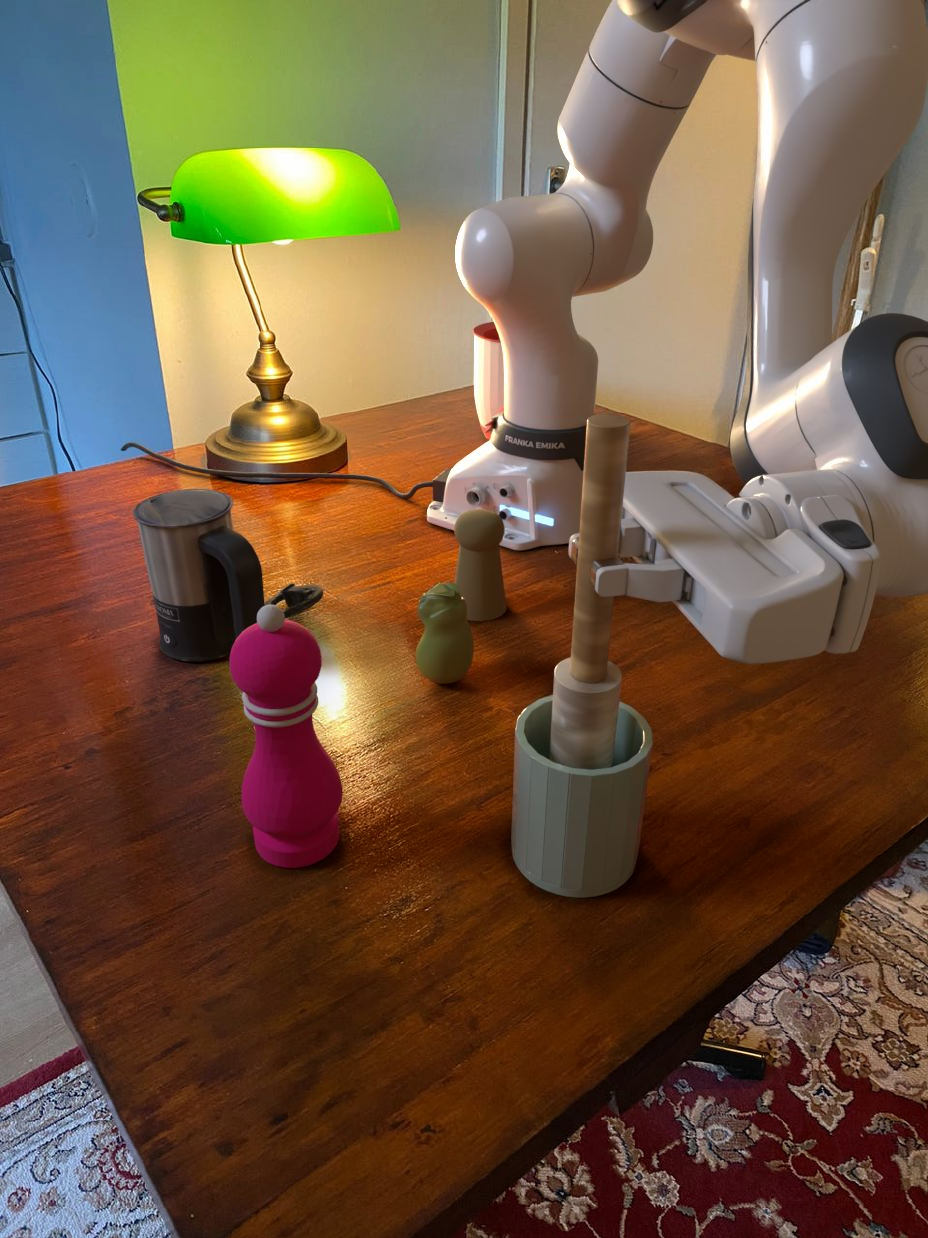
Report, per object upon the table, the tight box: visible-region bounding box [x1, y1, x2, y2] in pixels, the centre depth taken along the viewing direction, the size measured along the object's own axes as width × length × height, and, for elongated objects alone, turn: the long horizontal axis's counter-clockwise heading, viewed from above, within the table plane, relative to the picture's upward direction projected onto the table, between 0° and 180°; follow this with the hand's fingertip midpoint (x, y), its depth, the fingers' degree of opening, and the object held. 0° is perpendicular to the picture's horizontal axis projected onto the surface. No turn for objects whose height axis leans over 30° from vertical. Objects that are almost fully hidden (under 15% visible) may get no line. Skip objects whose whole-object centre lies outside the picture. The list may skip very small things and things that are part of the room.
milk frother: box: [131, 488, 324, 663], centre depth 91 cm, size 14×16×15 cm
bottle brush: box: [549, 413, 631, 770], centre depth 57 cm, size 4×4×24 cm
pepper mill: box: [228, 605, 344, 869], centre depth 63 cm, size 7×7×20 cm
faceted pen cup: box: [510, 694, 654, 899], centre depth 64 cm, size 9×9×11 cm
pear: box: [414, 582, 475, 685], centre depth 84 cm, size 6×5×10 cm
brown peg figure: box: [453, 509, 507, 622], centre depth 96 cm, size 6×6×11 cm
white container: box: [472, 321, 504, 441], centre depth 143 cm, size 16×17×20 cm
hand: (582, 565), depth 55 cm, fingers closed on bottle brush, 2 cm apart
